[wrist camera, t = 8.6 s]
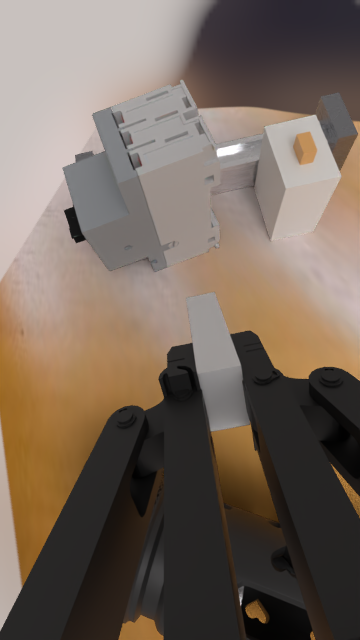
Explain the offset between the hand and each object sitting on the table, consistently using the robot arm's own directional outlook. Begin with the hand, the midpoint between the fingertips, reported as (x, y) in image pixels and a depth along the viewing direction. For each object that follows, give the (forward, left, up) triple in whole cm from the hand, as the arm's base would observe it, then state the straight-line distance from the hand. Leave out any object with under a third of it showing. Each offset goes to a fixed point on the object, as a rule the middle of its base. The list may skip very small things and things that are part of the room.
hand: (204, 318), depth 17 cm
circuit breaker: (+4, -16, -18) cm, 25 cm away
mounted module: (-12, -17, -18) cm, 28 cm away
